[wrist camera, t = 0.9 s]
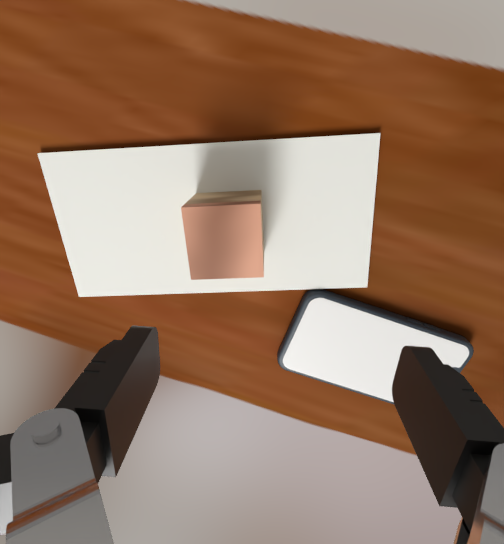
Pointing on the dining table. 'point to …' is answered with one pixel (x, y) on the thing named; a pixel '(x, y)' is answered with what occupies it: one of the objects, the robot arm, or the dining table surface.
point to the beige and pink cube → (224, 235)
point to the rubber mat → (216, 178)
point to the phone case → (359, 343)
